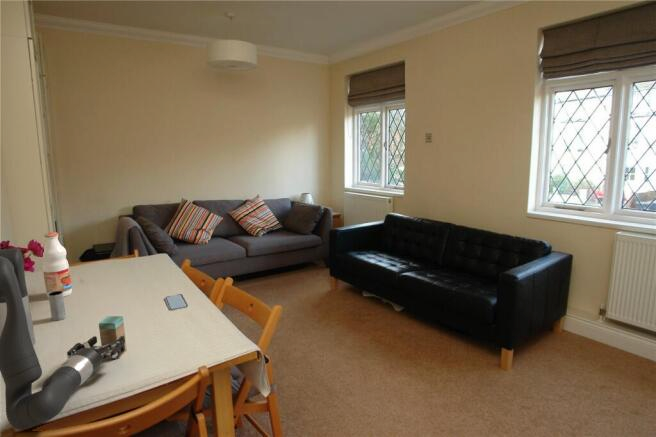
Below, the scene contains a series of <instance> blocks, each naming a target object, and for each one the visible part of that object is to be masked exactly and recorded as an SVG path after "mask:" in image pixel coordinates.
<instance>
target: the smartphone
mask: <svg viewBox="0 0 656 437" xmlns="http://www.w3.org/2000/svg"><path fill="white" fill-rule="evenodd" d="M164 300H165V303H166V305H167V307H168V309H169V311H170V312H171V311H177V309H178V310H182V308H183V309H187V308H189V304H188V302H187V301H186V299H185V297H184V294H182V293H178V294H174V295H168V296H165V297H164Z"/></svg>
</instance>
